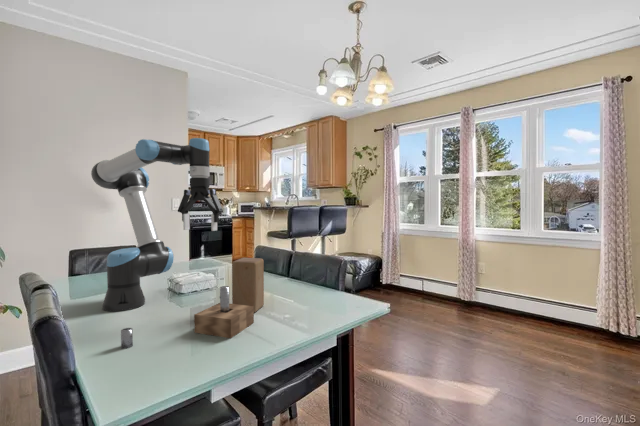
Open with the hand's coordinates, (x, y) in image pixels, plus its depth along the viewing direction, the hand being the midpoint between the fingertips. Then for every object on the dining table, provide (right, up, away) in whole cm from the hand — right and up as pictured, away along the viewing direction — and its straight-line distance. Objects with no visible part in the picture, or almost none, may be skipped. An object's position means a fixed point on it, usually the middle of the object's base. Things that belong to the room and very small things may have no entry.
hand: (200, 230), depth 133 cm
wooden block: (+20, -32, 0) cm, 37 cm away
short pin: (-9, -33, -35) cm, 49 cm away
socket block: (+16, -32, -20) cm, 41 cm away
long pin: (+16, -32, -20) cm, 41 cm away
